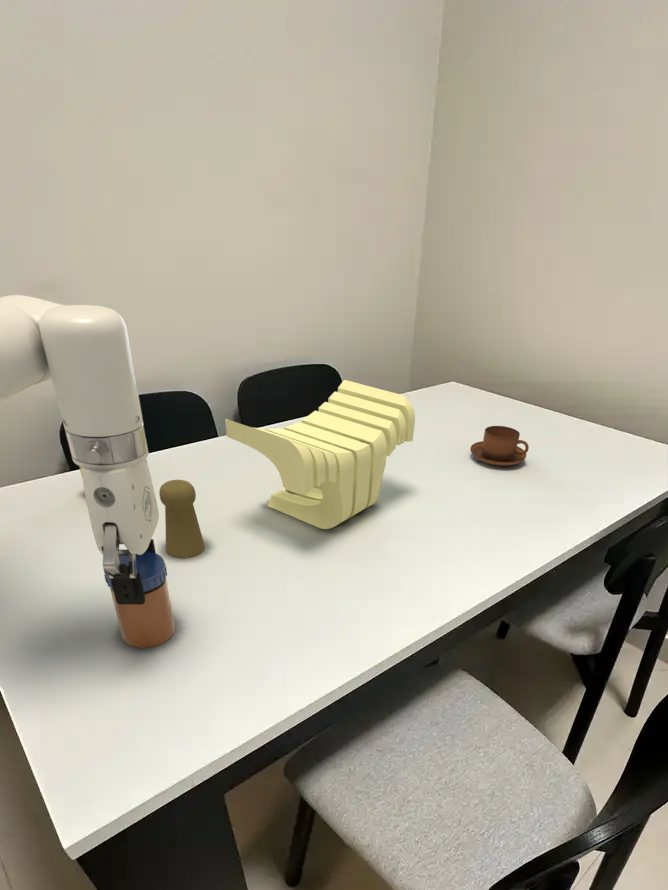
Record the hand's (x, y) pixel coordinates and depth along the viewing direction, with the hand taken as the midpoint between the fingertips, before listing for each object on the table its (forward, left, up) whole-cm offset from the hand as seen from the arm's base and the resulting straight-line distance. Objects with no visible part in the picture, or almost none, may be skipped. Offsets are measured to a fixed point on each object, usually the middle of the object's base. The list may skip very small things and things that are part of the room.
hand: (138, 583), depth 71 cm
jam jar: (0, 0, -8) cm, 8 cm away
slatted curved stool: (+25, +35, -8) cm, 44 cm away
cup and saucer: (+64, +58, -8) cm, 87 cm away
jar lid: (0, 0, +2) cm, 2 cm away
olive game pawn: (+2, +21, -8) cm, 22 cm away
